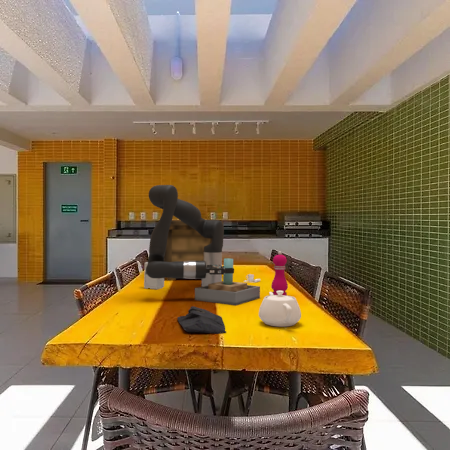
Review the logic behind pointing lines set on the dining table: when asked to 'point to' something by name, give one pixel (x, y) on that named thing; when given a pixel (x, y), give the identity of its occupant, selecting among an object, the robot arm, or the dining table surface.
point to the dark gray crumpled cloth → (202, 321)
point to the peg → (228, 276)
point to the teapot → (279, 310)
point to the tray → (227, 295)
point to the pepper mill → (279, 274)
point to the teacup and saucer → (251, 278)
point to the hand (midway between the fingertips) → (232, 269)
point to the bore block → (228, 286)
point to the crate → (184, 244)
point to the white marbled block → (152, 281)
